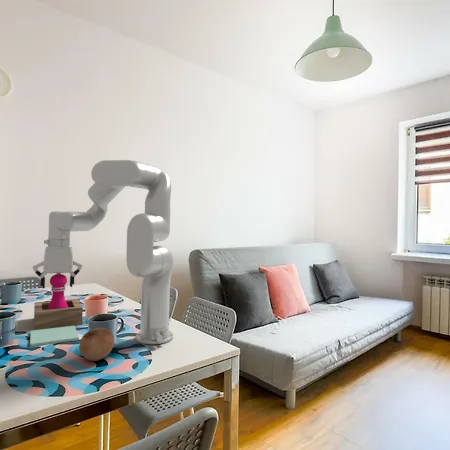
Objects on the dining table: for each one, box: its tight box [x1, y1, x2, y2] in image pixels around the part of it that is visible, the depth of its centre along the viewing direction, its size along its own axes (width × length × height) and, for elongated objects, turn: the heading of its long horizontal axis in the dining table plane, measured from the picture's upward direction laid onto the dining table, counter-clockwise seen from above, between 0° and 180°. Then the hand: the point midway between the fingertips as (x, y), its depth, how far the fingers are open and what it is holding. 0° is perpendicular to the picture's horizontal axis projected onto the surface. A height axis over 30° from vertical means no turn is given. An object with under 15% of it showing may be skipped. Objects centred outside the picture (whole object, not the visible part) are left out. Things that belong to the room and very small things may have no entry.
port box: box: [33, 298, 84, 330], centre depth 131 cm, size 16×16×6 cm
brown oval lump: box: [78, 326, 115, 362], centre depth 98 cm, size 10×9×10 cm
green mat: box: [29, 325, 80, 348], centre depth 115 cm, size 14×14×1 cm
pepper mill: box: [48, 273, 68, 310], centre depth 131 cm, size 7×7×20 cm
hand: (57, 287), depth 131 cm, fingers open, 9 cm apart
